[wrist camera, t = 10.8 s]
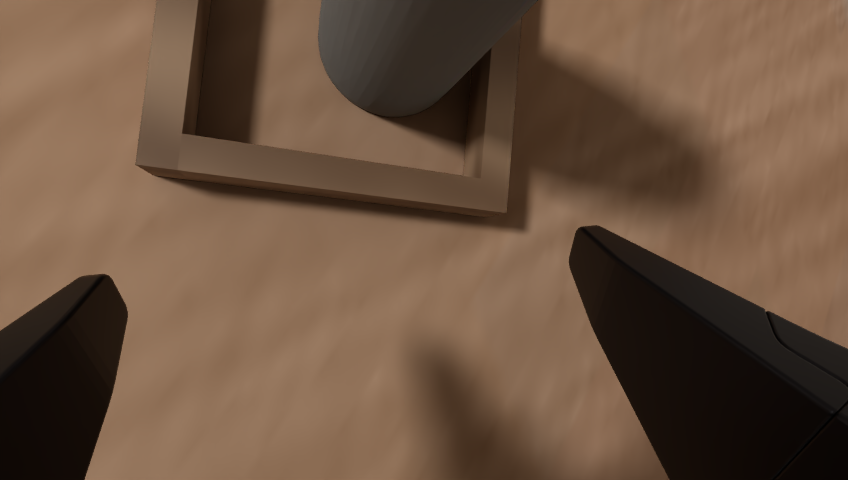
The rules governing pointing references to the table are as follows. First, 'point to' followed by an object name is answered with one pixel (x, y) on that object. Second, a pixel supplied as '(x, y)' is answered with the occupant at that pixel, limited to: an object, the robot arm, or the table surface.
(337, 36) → the bottle
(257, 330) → the table surface
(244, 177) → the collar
